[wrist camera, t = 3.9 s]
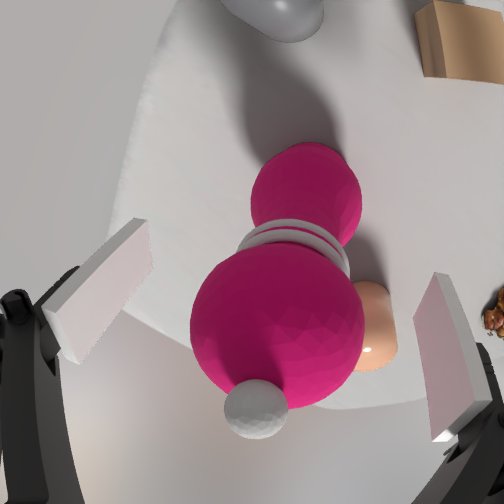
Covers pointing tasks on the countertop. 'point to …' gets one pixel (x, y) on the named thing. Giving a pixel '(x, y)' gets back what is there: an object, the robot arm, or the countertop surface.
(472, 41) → the tan block
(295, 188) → the pepper mill
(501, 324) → the brown lumpy mound
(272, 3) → the grey cylinder
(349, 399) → the countertop surface
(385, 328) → the peach rounded cylinder
